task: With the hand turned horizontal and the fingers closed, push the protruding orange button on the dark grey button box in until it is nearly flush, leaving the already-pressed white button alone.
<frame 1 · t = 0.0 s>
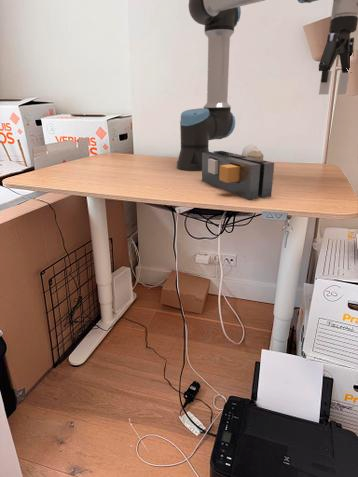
hand: (332, 94, 109), 28 cm above the table, tool pointing down, fingers open, 13 cm apart
orange button: (229, 173, 101), point 6 cm above the table, slide at 0.0 cm
dark grey button box: (233, 187, 110), on the table
light bulb: (249, 173, 132), on the table
white button: (217, 165, 112), point 6 cm above the table, slide at 3.0 cm
candle: (253, 179, 123), on the table
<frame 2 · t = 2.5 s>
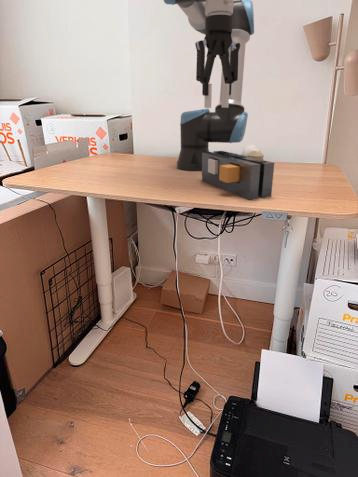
hand: (216, 107, 100), 25 cm above the table, tool pointing down, fingers open, 5 cm apart
nothing on the table moved.
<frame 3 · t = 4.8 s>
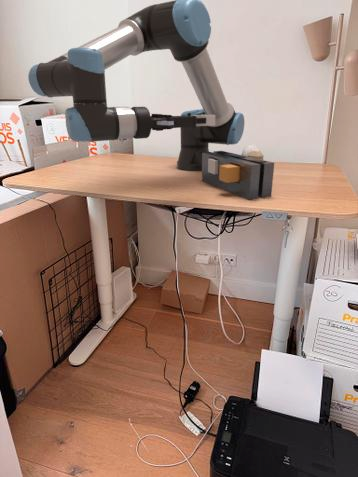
hand: (213, 120, 92), 22 cm above the table, tool horizontal, fingers closed
nothing on the table moved.
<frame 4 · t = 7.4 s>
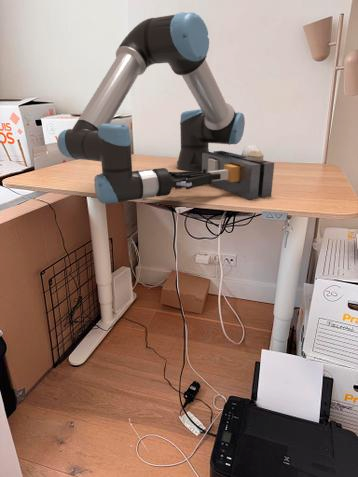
hand: (227, 174, 100), 6 cm above the table, tool horizontal, fingers closed
orange button: (233, 172, 101), point 6 cm above the table, slide at 1.5 cm, touching gripper
everything else where it was.
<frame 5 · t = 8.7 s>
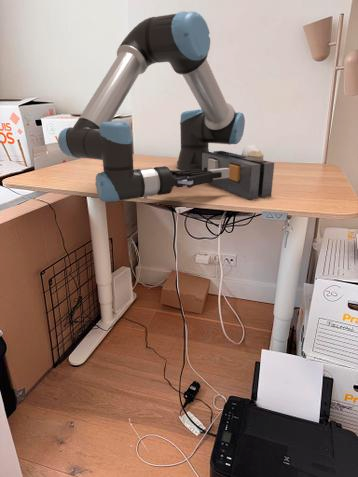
hand: (227, 172, 100), 7 cm above the table, tool horizontal, fingers closed
orange button: (239, 172, 102), point 6 cm above the table, slide at 3.4 cm
everything else where it was.
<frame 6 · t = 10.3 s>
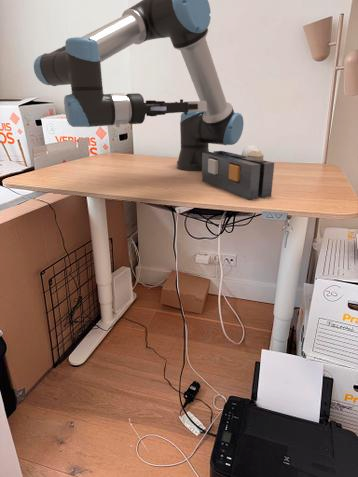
hand: (205, 106, 97), 25 cm above the table, tool horizontal, fingers closed
nothing on the table moved.
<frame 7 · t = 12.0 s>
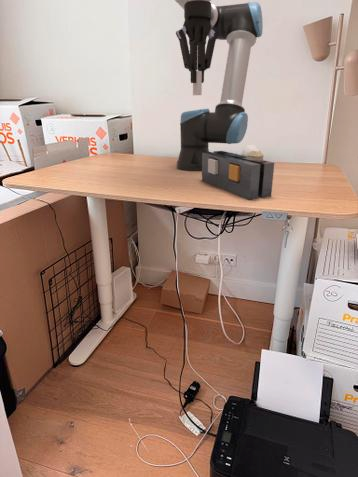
hand: (197, 95, 102), 28 cm above the table, tool pointing down, fingers closed
nothing on the table moved.
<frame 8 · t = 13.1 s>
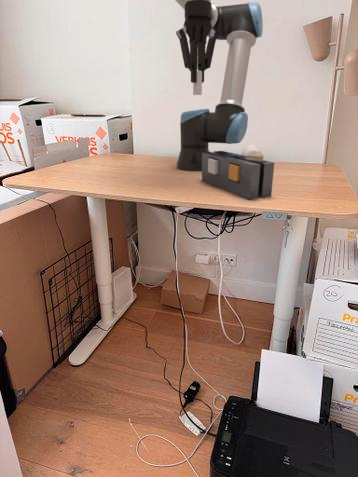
hand: (197, 94, 102), 28 cm above the table, tool pointing down, fingers closed
nothing on the table moved.
at the end: orange button slide at 3.4 cm; white button slide at 3.0 cm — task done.
